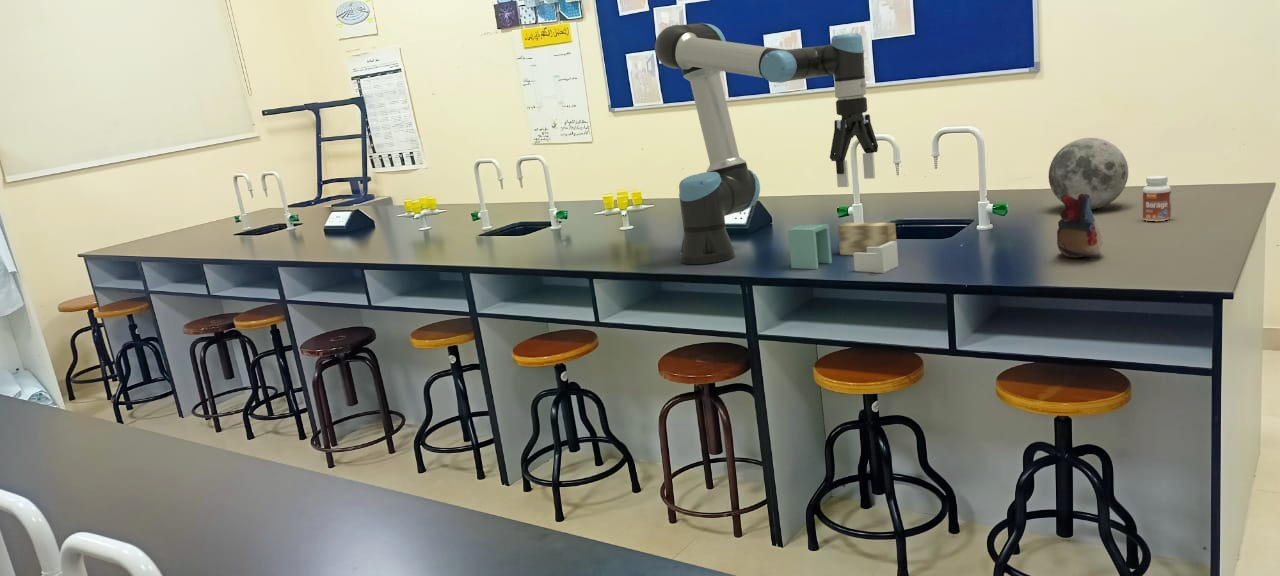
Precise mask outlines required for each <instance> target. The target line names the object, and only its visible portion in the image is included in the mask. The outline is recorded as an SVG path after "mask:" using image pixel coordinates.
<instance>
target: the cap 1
mask: <svg viewBox="0 0 1280 576" xmlns="http://www.w3.org/2000/svg"><path fill="white" fill-rule="evenodd" d="M787 233H788V244H789V255H790V256H789V257H790V265H791V266H790V268H791V269H801V270H802V269H805V270H806V269H807V270H818V269H819V264H832V263H833V258H832V250H831V249H832V248H831V235H830V224H829V223H803V224H800V225H796V226H794V227H791V228H788V229H787Z"/></svg>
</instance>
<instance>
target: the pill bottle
mask: <svg viewBox="0 0 1280 576" xmlns="http://www.w3.org/2000/svg"><path fill="white" fill-rule="evenodd" d="M1145 183H1146V184H1147V185H1146V186H1144V187H1143V188H1142V189H1143V190H1142V220H1143V219H1148V220H1163V219H1169V218H1170V219H1171V217H1172V216H1171V214H1172V213H1171V209H1172V199H1171V198H1172V188H1171V186H1170V185H1169V184H1168V176H1167V175H1150V176H1147V177H1146V179H1145Z"/></svg>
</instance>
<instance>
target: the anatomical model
mask: <svg viewBox="0 0 1280 576" xmlns="http://www.w3.org/2000/svg"><path fill="white" fill-rule="evenodd" d="M1061 200H1062V202H1063V203H1062V202H1061V203H1062V204H1063V205H1064V207H1065V208H1064V209H1062V210H1061V211H1060V220H1059V221H1058V222H1057V224H1058V229H1057V231H1056V233H1057V234H1056V240H1057V241H1056V244H1057V249H1058V250H1059V252H1060V253H1061V254H1062V255H1063V256H1065V257H1067V258H1082V257H1083V258H1084V257H1089V258H1094V257H1098V256H1099V255H1101V251H1102V247H1103V244H1104V243H1103V242H1104V241H1103V235H1102V233H1101V229H1100V225H1099V224H1098V221H1097V220H1096V219H1095V216H1094V214H1093V211H1092V210H1091V208H1090V202H1091V197H1090V195H1088V194H1080V195H1079V196H1078V200H1077V199H1075V198H1073V197H1071V196H1070V195H1068V194H1063V195H1062V196H1061Z"/></svg>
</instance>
